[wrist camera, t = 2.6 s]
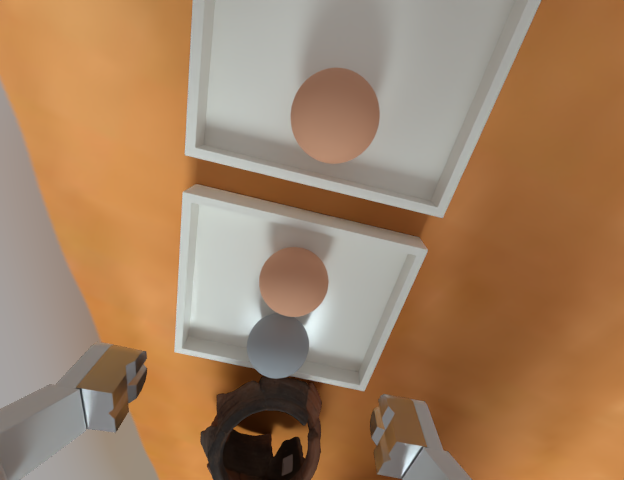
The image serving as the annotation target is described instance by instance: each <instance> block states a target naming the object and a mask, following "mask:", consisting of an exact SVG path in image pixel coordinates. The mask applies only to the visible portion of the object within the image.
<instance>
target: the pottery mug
mask: <svg viewBox="0 0 624 480" xmlns="http://www.w3.org/2000/svg"><path fill="white" fill-rule="evenodd" d="M321 405H322V402H321V399H320V395H319V393H318V391H317V389H316V387H315V385H314V384H313V383H312V382H310V383H309V384H307V383H306V382H304V381H300V380H296V379H291V378H278V379H275V378H269V377H266V376H265V377H262V378H261V379H260V381H259V383H257V382H256V381H250V382H248V383H246V384H244V385H243V386H241V387H240V388H238V389H236V390H235V391H233V392H230V393H227V394H218V395H217V415H216V417H215V419H214V421H213V422H212V424H211V426H210V427H208V428H207V429H206V430H205V431H202V432H201V445H202V447H203V449H204V452H205V454H206V456H207V458H208V462H209V463H208V464H207V468H208V469H209V471H210V473H211V475H212V478H213V480H311V478H312V477H313V475H314V473H315V471H316V469H317V465H318V462H319V457H320V453H321V449H320V438H321V425H320V420H319V414H320V411H321ZM265 410H267V411H273V410H275V411H281V412H285V413H287V414H289V415H291V416H293V417H294V418H296V419H297V420H298V421H299V422H300V423H301V424H302V425H304V426H305V425H306V423H308V427H309V433H308V451H307V455H306V458H304V457H303V452H302V445H301V443H300V439H299V437H294V438H292V439H290V440H286V441H284V442H283V443H282V445H281V447H280V448H279V450H278V452H277V453H276V455H275V456H274V457H273V454H272V446H271V441H272V438H271V434H270V433H268V434H264V435H258V436H252V435H247V434H241V433H239V432H237V431H235V430H233V428H234V427H235V426H236V425H237V424H238V423H240V422H241V421H242V420H243V419H245V418H246V417H248V416H249V415H251V414H254V413H257V412H260V411H265Z"/></svg>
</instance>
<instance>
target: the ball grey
mask: <svg viewBox="0 0 624 480" xmlns="http://www.w3.org/2000/svg"><path fill="white" fill-rule="evenodd" d="M308 351H309V339H308V334H307V332H306V330H305V328H304V326H303V325H302V323H301V322H300V321H299V320H297V319H296V318H295V317H288V316H284V315H281V314H278V313H274V314H270V315H267V316H265V317H263V318H262V319H260V320H259V321H258V322H257V323H256V324H255V325H254V327H253V328H252V330H251V332H250V334H249V337H248V340H247V354H248V357H249V360H250V362H251V364H252V366H253V367H254V368H255V369H256V370H257V371H258V372H259V373H260V374H262V375H264V376H266V377H269V378H275V379H278V378H285V377H288V376H290V375H292V374H294V373H295V372H296V371H297V370H299V369H300V367H301V366H302V365H303V363H304V362H305V360H306V358H307V355H308Z"/></svg>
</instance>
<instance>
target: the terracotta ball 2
mask: <svg viewBox="0 0 624 480" xmlns="http://www.w3.org/2000/svg"><path fill="white" fill-rule="evenodd" d="M379 119H380V110H379V103H378V99H377V97H376V94H375V92H374V90H373V88H372V87H371V85H370V84H369V83H368V82H367V81H366V80H365V79H364V78H363V77H362V76H361V75H359V74H358V73H356V72H354V71H351V70H349V69H345V68H328V69H324V70H321V71H319V72H317V73H315V74H313V75H312V76H310V77H309V78H308V79H307V80H306V81H305V82H304V83H303V84H302V85H301V87H300V88H299V89H298V91H297V93H296V95H295V97H294V100H293V103H292V107H291V127H292V131H293V134H294V137H295V139H296V141H297V143H298V144H299V146H300V147H301V148H302V149H303V151H304V152H305V153H307V154H308V155H309V156H310V157H312V158H314V159H316V160H318V161H320V162H323V163H329V164H338V163H344V162H347V161H350V160H352V159H354V158H356V157H358V156H359V155H360V154H362V153H363V152H364V151H365V150H366V149H367V148H368V147H369V145H370V144H371V142H372V141H373V139H374V137H375V135H376V132H377V129H378V125H379Z"/></svg>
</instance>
